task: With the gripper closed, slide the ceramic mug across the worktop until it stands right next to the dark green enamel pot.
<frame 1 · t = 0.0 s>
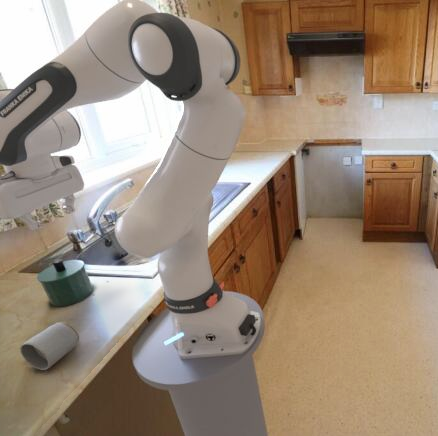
hand: (54, 220, 80), 27 cm above the counter, tool pointing down, fingers open, 8 cm apart
pot: (72, 295, 97), on the counter
pot lid: (61, 271, 93), point 8 cm above the counter, touching pot
ceramic mug: (52, 356, 76), on the counter
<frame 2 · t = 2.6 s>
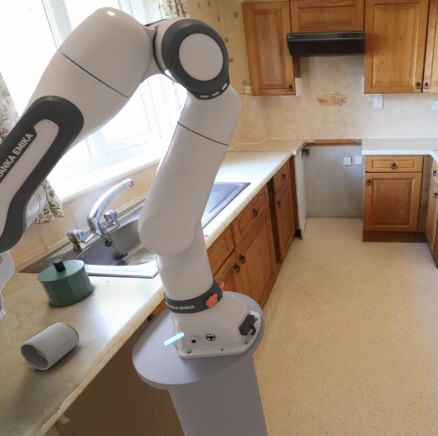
nothing on the counter moved.
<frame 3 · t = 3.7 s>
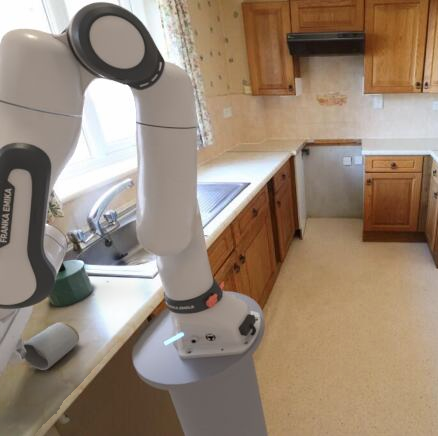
hand: (19, 359, 63), 9 cm above the counter, tool pointing down, fingers closed
nothing on the counter moved.
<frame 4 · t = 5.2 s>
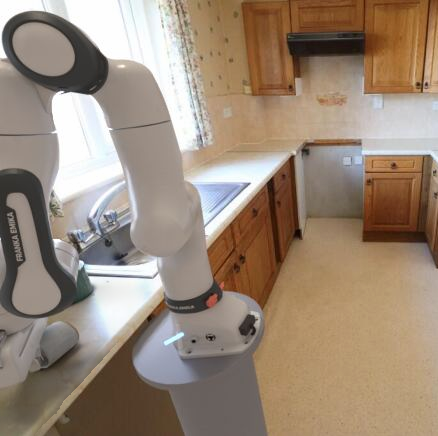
hand: (37, 366, 68), 4 cm above the counter, tool pointing down, fingers closed
ceramic mug: (53, 355, 76), on the counter, touching gripper
everything else where it was.
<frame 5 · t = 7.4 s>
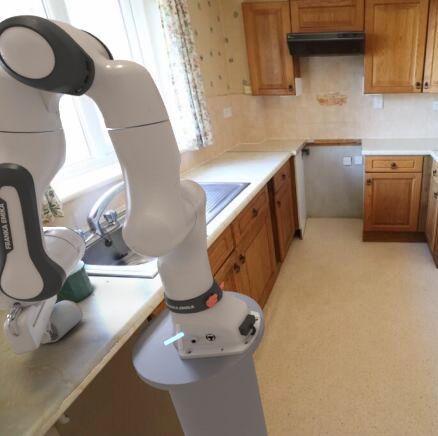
hand: (48, 339, 76), 4 cm above the counter, tool pointing down, fingers closed
ceramic mug: (58, 332, 83), on the counter, touching gripper
everything else where it was.
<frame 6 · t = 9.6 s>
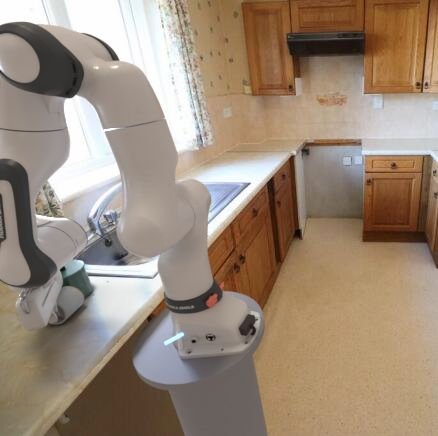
hand: (55, 319, 82), 4 cm above the counter, tool pointing down, fingers closed
ceramic mug: (62, 316, 89), on the counter, touching gripper, pot
everything else where it was.
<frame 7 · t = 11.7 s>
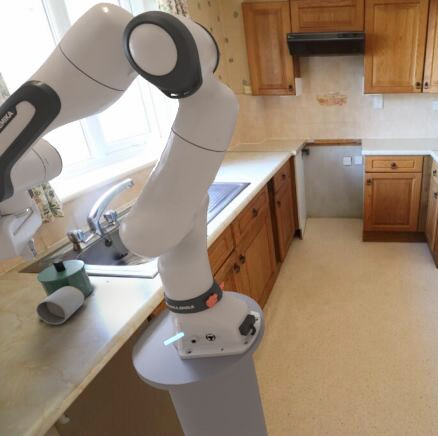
hand: (31, 258, 74), 22 cm above the counter, tool pointing down, fingers closed
ceramic mug: (62, 316, 89), on the counter
everything else where it was.
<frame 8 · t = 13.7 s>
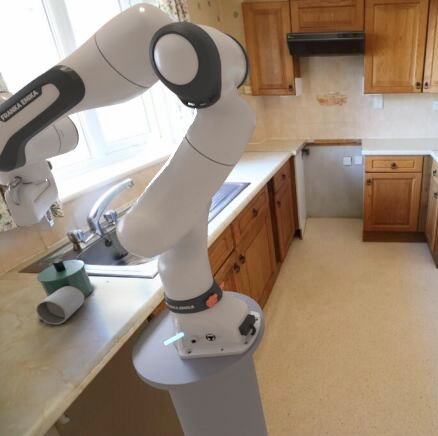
hand: (49, 228, 76), 27 cm above the counter, tool pointing down, fingers closed
nothing on the counter moved.
at the end: ceramic mug 9.7 cm from the pot (horizontally); ceramic mug moved 16.6 cm from its start; ceramic mug tilted 0° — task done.
